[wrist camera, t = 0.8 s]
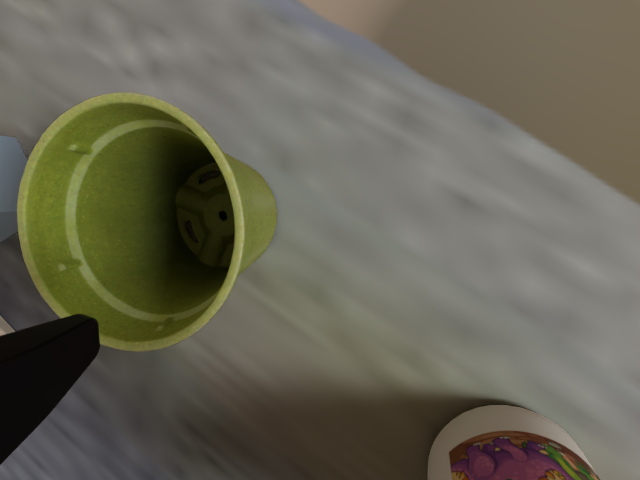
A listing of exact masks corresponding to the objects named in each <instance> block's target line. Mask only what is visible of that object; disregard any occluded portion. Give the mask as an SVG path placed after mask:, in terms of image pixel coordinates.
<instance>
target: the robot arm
mask: <svg viewBox="0 0 640 480" xmlns="http://www.w3.org/2000/svg"><path fill="white" fill-rule="evenodd" d="M99 348H100V339H99V324H98V321H97V320H96V319H95V318H92V317H90V316H87V315H85V314H74V315H71V316H67V317H64V318H61V319H57V320H54V321H50V322H47V323H43V324H40V325H36V326H33V327H29V328H26V329H22V330H19V331H15V332H12V333H8V334H5V335H1V336H0V465H1V464H2V462H3V461H4V460H5V459H6V458H7V457H8V456H9V455H10V454H11V453H12V452H13V451H14V450H15V449H16V448H17V447H18V446H19V445H20V444H21V443H22V442H23V441H24V440H25V439H26V438H27V437H28V436H29V435H30V434H31V433H32V432H33V431H34V430H35V429H36V427H37V426H38V425H39V424H40V423H41V422H42V421H43V420H44V419H45V418H46V417H47V416H48V415H49V414H50V412H51V411H52V410H53V409H54V408H55V407H56V405H57V404H58V403H59V402H60V401H61V399H62V398H63V397H64V396H65V394H66V393H67V392H68V391H69V389H70V388H71V387H72V386H73V384H74V383H75V382H76V381H77V380H78V378H79V377H80V376H81V375H82V373H83V372H84V371H85V370H86V368H87V367H88V366H89V365H90V363H91V362H92V361H93V360H94V359H95V357H96V356H97V354H98V352H99ZM505 480H513V479H511V478H507V479H505Z"/></svg>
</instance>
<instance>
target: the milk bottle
mask: <svg viewBox="0 0 640 480" xmlns="http://www.w3.org/2000/svg"><path fill="white" fill-rule="evenodd" d="M507 478H511V479H513V480H600V479H599V477H598V476H597V474H596V473H595V471H594V470H593V468H592V466H591V465H590V463H589V462H588V460H587V459H586V457H585V456H584V454H583V453H582V451H581V450H580V448H579V447H578V446H577V444H576V443H575V442H574V440H573V439H572V438H571V437H570V436H569V435H568V434H567V433H566V432H565V431H564V430H563V429H562V428H561V427H560V426H558V425H557V424H556V423H554V422H553V421H551V420H549V419H548V418H546V417H544V416H542V415H540V414H538V413H535V412H533V411H530V410H527V409H524V408H521V407H515V406H509V405H487V406H483V407H476V408H474V409H471V410H469V411H466V412H463V413H462V414H460V415H459V416H457V417H456V418H454V419H452V420H451V421H450V422H449V423H448V424H447V425H446V426H445V427H444V428H443V429H442V430H441V431H440V433H439V434H438V436H437V437H436V439H435V441H434V442H433V445H432V447H431V450H430V453H429V458H428V475H427V480H505V479H507Z"/></svg>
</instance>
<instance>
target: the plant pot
mask: <svg viewBox="0 0 640 480" xmlns="http://www.w3.org/2000/svg"><path fill="white" fill-rule="evenodd" d="M211 171H219V172H220V175H219V176H217V177H215V178H212V179H209V180H207V181H206V182H205V183H203V184H200V183H199V181H200V178H201V177H202V176H203V175H204V174H207V173H209V172H211ZM221 211H224V212H226V214H227V219H226V220H224V221H223V220H221V219H220V217H219V213H220V212H221ZM187 221H190V223H191V226H192V231H193V233H194V235H195V237H196V239H197V240H198V242H193V240H192V239H191V237H190V235H189V233H188V231H187V228H186V222H187ZM17 222H18V234H19V240H20V246H21V250H22V255H23V258H24V261H25V264H26V267H27V269H28V271H29V274H30V276H31V278H32V280H33V282H34V284H35V286H36V288H37V290H38V291H39V293H40V294H41V296H42V297H43V299H44V300H45V301H46V302H47V303H48V305H49V306H50V307H51V308H52V310H53V311H54V312H55V313H56V314H57V315H58V316H59V317H60V318H64V317H67V316H71V315H74V314H85V315H87V316H90V317H92V318H95V319H96V320H97V321H98V324H99V339H100V344H102V345H105V346H108V347H111V348H115V349H119V350H124V351H150V350H156V349H162V348H165V347H169V346H171V345H174V344H176V343H178V342H181V341H182V340H184V339H186V338H188V337H190V336H191V335H193V334H194V333H196V332H197V331H198V330H199V329H201V328H202V327H203V326H204V325H205V324H206V323H207V322H209V321H210V320H211V319H212V318H213V316H214V315H215V314H216V313H217V312H218V311H219V309H220V308H221V307H222V305H223V304H224V302H225V301H226V299H227V298H228V296H229V294H230V292H231V290H232V288H233V286H234V284H235V282H236V279H237V277H238V275H239V274H240V273H242V272H243V271H244V270H245V269H246V268H247V267H248V266H250V265H251V264H252V263H253V262H254V261H255V260H257V259H258V258H259V257H260V256H261V255H262V254H263V253H264V252H265V251H266V249H267V248H268V246H269V244H270V242H271V240H272V237H273V234H274V231H275V227H276V224H277V209H276V203H275V199H274V196H273V193H272V191H271V189H270V187H269V186H268V184H267V183H266V181H265V180H264V179H263V177H262V176H261V175H260V174H259V173H258V172H257V171H255V170H254V169H253V168H251V167H250V166H248V165H246V164H245V163H243V162H241V161H239V160H237V159H235V158H233V157H231V156H229V155H228V154H226V153H224V152H223V151H222V150H221V148H220V147H219V145H218V144H217V142H216V141H215V140H214V139H213V138H212V136H211V135H210V134H209V133H208V132H207V131H206V130H205V129H204V127H202V126H201V125H200V124H199V123H198V122H197V121H195V120H194V119H193V118H192V117H191V116H189V115H188V114H186V113H185V112H183V111H182V110H180V109H179V108H177V107H175V106H173V105H171V104H169V103H167V102H165V101H162V100H160V99H157V98H154V97H152V96H148V95H143V94H137V93H129V92H125V93H122V92H120V93H110V94H104V95H100V96H96V97H93V98H90V99H88V100H85V101H83V102H82V103H80V104H78V105H76V106H74V107H73V108H71V109H69V110H68V111H66V112H65V113H64V114H62V115H61V116H60V117H58V118H57V119H56V120H55V121H54V122H53V123H52V124H51V125H50V126H49V127H48V128H47V130H46V131H45V132H44V133H43V135H42V136H41V137H40V140H39V141H38V143H37V144H36V145H35V147H34V149H33V151H32V153H31V155H30V157H29V159H28V161H27V164H26V166H25V170H24V174H23V176H22V179H21V182H20V186H19V194H18V201H17ZM231 255H232V257H231Z"/></svg>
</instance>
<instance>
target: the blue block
mask: <svg viewBox="0 0 640 480" xmlns="http://www.w3.org/2000/svg"><path fill="white" fill-rule="evenodd" d="M27 161H28V160H27V159H26V157H25V155H24V153H23V151H22V149H21V147H20V145H19V143H18V141H17V139H16V138H14V137H6V136H0V243H1V242H2V241H4V240H5V239H7V238H8V237H10V236H11V235H13V234H15V233H16V232H18V222H17V201H18V194H19V186H20V182H21V179H22V176H23V174H24V170H25V166H26V164H27Z"/></svg>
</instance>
